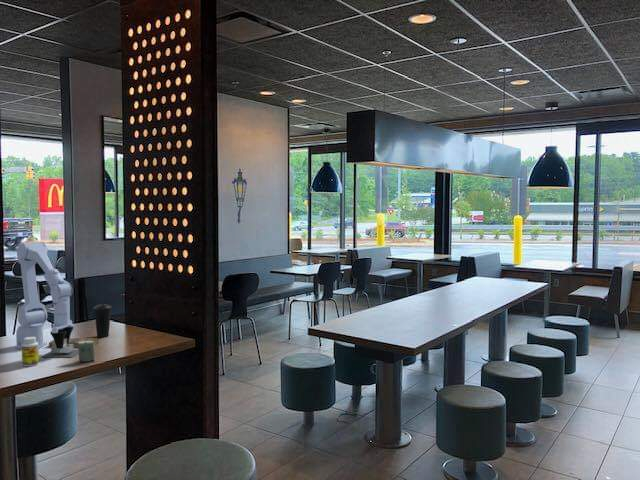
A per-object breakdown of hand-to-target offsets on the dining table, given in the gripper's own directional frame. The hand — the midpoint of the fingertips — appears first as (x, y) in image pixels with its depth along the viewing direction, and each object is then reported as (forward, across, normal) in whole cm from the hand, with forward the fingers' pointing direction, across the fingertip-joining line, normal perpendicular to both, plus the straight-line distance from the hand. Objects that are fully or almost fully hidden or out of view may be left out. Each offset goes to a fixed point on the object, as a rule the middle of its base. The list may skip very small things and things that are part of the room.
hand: (62, 346), depth 215 cm
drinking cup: (+3, +29, -6) cm, 30 cm away
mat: (+3, 0, 0) cm, 3 cm away
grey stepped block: (+2, 0, 0) cm, 2 cm away
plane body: (+3, +14, +1) cm, 14 cm away
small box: (+3, -10, -13) cm, 17 cm away
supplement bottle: (+3, -14, +6) cm, 16 cm away
